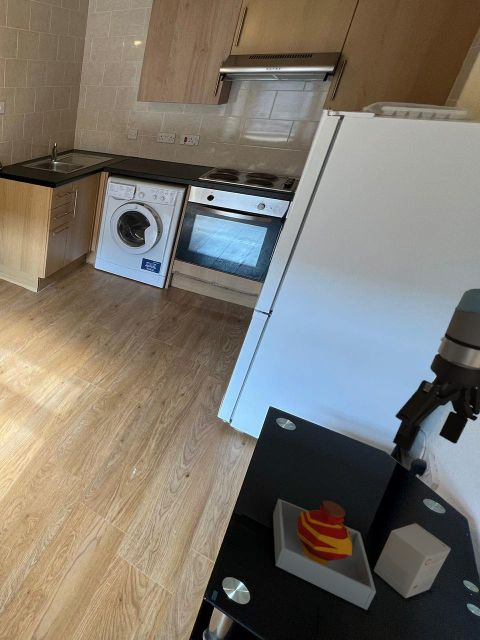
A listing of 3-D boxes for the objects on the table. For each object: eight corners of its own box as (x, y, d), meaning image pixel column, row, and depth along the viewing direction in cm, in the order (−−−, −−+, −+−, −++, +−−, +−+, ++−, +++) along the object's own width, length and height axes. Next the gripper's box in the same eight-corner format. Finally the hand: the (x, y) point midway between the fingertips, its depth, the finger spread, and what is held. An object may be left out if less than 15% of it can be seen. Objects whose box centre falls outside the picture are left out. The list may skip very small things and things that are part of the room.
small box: (396, 562, 97) (415, 522, 93) (430, 590, 92) (452, 548, 88) (371, 570, 96) (390, 529, 91) (405, 599, 90) (427, 557, 86)
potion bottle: (302, 570, 94) (321, 523, 90) (281, 529, 104) (297, 484, 99) (355, 582, 92) (377, 534, 87) (328, 539, 102) (347, 494, 97)
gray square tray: (352, 549, 100) (360, 532, 98) (367, 610, 87) (376, 592, 86) (272, 514, 109) (278, 498, 107) (275, 565, 96) (281, 548, 94)
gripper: (482, 347, 90) (445, 424, 96) (394, 356, 85) (362, 437, 92) (532, 365, 83) (488, 448, 89) (440, 377, 78) (401, 463, 85)
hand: (424, 442), depth 91 cm, fingers open, 13 cm apart
